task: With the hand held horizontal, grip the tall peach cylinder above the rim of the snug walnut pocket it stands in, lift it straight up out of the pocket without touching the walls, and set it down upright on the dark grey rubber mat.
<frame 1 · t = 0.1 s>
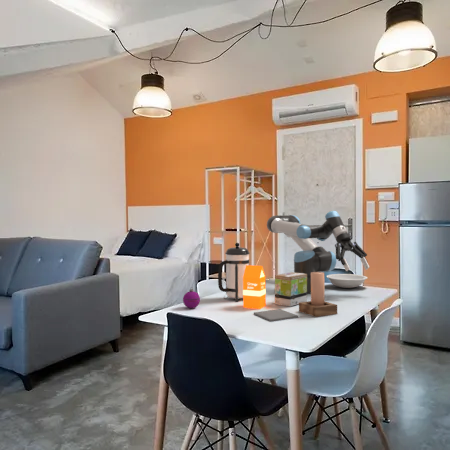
hand: (358, 269, 210), 15 cm above the table, tool tilted 35°, fingers open, 13 cm apart
pocket: (317, 312, 180), on the table
mat: (275, 315, 174), on the table
orange juice: (254, 307, 193), on the table
tall peach cylinder: (317, 292, 179), in the pocket
soup bowl: (346, 287, 242), on the table
coffee press: (236, 299, 210), on the table
tea box: (291, 303, 200), on the table
christmas ornament: (191, 308, 191), on the table
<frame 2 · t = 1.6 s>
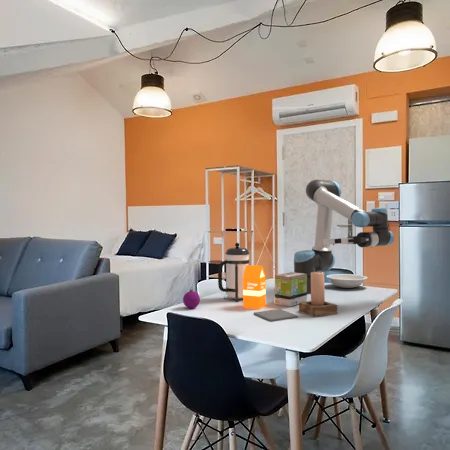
hand: (332, 241, 191), 31 cm above the table, tool horizontal, fingers open, 13 cm apart
nothing on the table moved.
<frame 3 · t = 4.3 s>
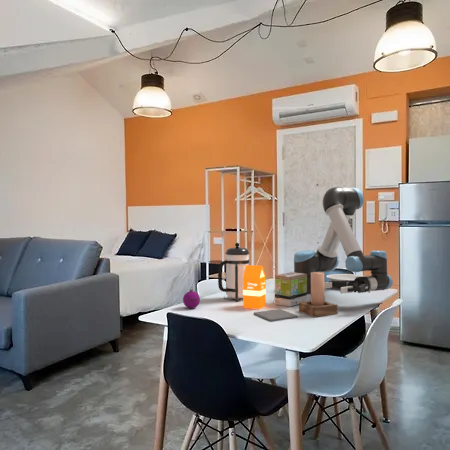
hand: (330, 288, 182), 11 cm above the table, tool horizontal, fingers open, 13 cm apart
nothing on the table moved.
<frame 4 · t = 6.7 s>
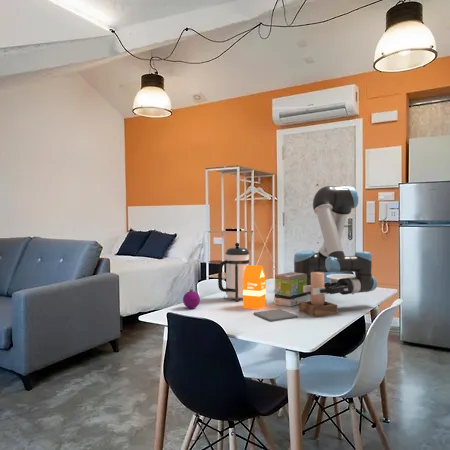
hand: (308, 290, 177), 11 cm above the table, tool horizontal, fingers closed on tall peach cylinder, 6 cm apart
tall peach cylinder: (317, 292, 179), in the pocket, touching gripper
everything else where it was.
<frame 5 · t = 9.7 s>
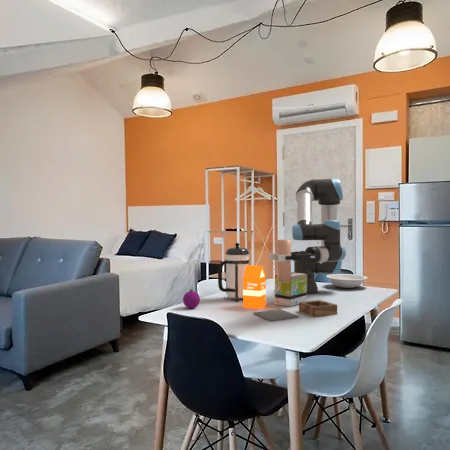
hand: (274, 257, 171), 26 cm above the table, tool horizontal, fingers closed on tall peach cylinder, 6 cm apart
tall peach cylinder: (283, 260, 174), point 24 cm above the table, touching gripper
everything else where it was.
when the fingers open (12 cm above the table, at t = 13.0 s): tall peach cylinder stays where it is, resting on mat.
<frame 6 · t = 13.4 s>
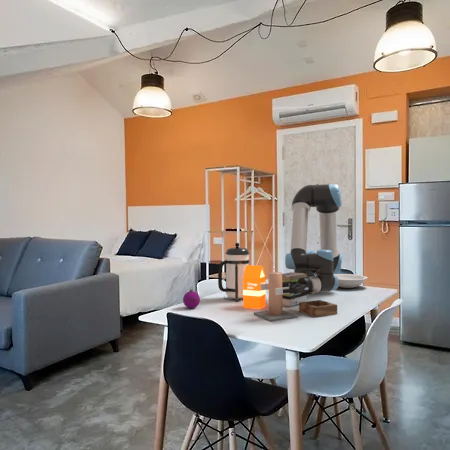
hand: (267, 289, 173), 12 cm above the table, tool horizontal, fingers open, 11 cm apart
tall peach cylinder: (275, 293, 174), on the mat, point 10 cm above the table
everything else where it was.
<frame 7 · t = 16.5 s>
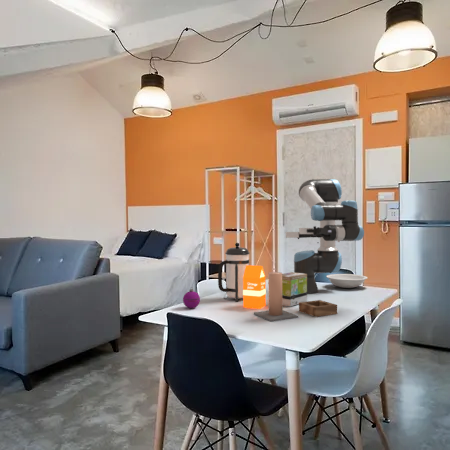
hand: (292, 232, 183), 36 cm above the table, tool horizontal, fingers open, 13 cm apart
nothing on the table moved.
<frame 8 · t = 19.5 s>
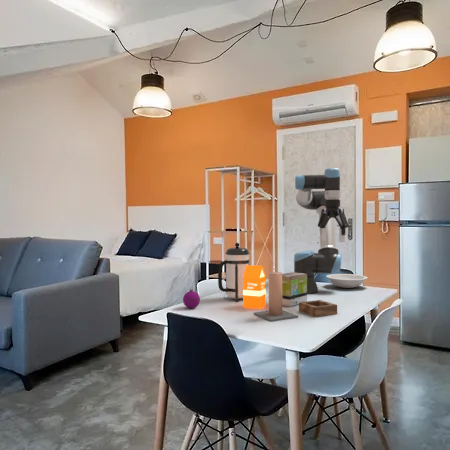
hand: (332, 241, 201), 31 cm above the table, tool pointing down, fingers open, 13 cm apart
nothing on the table moved.
at the end: tall peach cylinder inside the target area (0.1 cm from its centre), point 9.8 cm above the table; tall peach cylinder tilted 0°; the gripper is holding nothing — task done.
